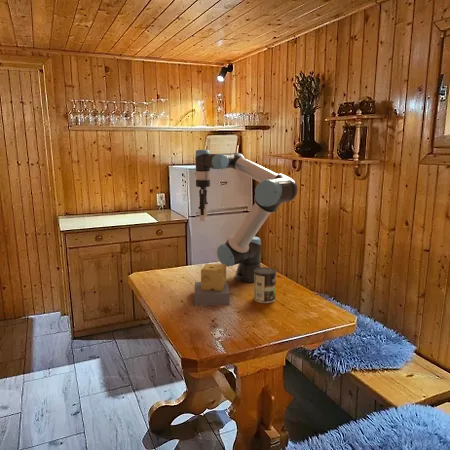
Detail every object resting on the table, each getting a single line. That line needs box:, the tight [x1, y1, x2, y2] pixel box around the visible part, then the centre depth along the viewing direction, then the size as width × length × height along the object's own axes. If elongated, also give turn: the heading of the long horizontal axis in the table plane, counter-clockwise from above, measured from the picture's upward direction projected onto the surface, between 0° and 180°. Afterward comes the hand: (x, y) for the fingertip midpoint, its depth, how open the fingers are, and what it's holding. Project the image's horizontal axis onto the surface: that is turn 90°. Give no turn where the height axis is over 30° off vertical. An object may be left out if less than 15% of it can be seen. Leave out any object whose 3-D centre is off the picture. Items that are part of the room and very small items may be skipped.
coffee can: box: [253, 266, 277, 304], centre depth 190 cm, size 10×10×14 cm
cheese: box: [200, 263, 227, 291], centre depth 191 cm, size 10×11×10 cm
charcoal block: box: [193, 280, 231, 306], centre depth 192 cm, size 16×16×6 cm
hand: (203, 218), depth 220 cm, fingers open, 13 cm apart
